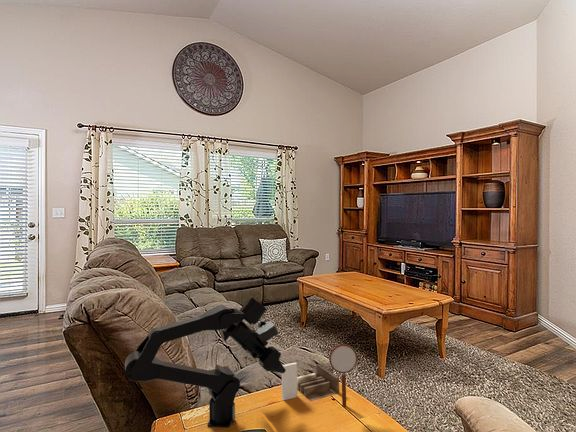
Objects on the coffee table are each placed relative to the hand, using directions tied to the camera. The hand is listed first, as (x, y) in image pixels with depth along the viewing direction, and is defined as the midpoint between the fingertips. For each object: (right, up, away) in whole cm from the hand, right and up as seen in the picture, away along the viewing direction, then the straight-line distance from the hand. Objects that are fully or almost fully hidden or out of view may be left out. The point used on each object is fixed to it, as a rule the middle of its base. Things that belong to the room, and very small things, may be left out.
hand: (278, 366), depth 108 cm
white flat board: (+4, -12, +1) cm, 13 cm away
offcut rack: (+12, -12, +7) cm, 19 cm away
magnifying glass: (+20, -12, -4) cm, 24 cm away
